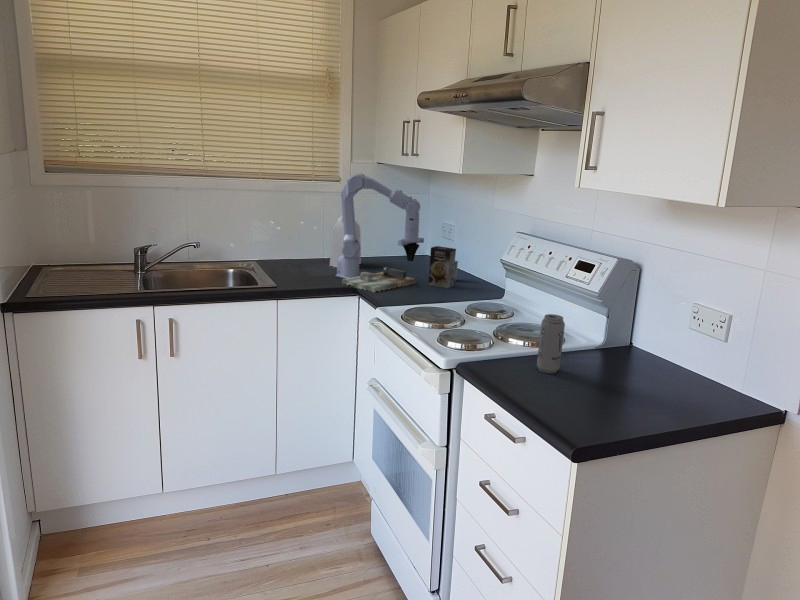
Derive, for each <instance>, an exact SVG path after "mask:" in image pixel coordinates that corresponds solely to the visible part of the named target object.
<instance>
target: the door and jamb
mask: <svg viewBox="0 0 800 600" xmlns="http://www.w3.org/2000/svg"><path fill="white" fill-rule="evenodd" d="M341 279H342V282H341V284H342V285H344V284H346V285H345V286H348V285H351V286H354V287H353V288H355V289H358V290H362V289H364V291H366V290H368V291H367V292H370V291H371V292H370V293H377V292H376V291H378V292H382V291H381V290H383V291H386V289H388V290H391V288H392V289H396V287H397V288H401V286H402V287H406V286H410V284H411V285H414V284H416V281H417V280H416V278H414V277H410V276H409V277H408V276H406V278H405V279H402V278H397V277H393V276H389V275H384V274H383V271H381V272H374V273H372V272H369V271H364V272H363V271H362V272H360V276H358V277H352V278H347V279H345V278H341ZM351 286H350V287H351Z"/></svg>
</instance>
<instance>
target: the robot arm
mask: <svg viewBox="0 0 800 600" xmlns="http://www.w3.org/2000/svg"><path fill="white" fill-rule="evenodd" d="M363 189H364V190H369V189H370V190H373V191H375V192H377V193H380V194H381V195H383V196H385V197H387V198H388V199H389V202H390V203H391V204H393V205H394V206H397V207H398V208H400V209H401V210H405V212H406V213H405V214H406V215H405V222H404V223H405V226H404V238H403V239H400V240H399V239H398V241H397V245H398V246H399V247H400V246H402V247H403V250H404V251H405V254H406V259H407V261H408V262H414V258H415V256H416V253H417V251H418V249H419V248H420V243H421V244H423V243H424V242H425V238H424V237H419V232H420V231H419V230H420V212H419V211H420V210H421V203H420V202H419V200H418V199H416V198H413V197H412V196H408V195H407V194H404V193H403V190H397V189H395V190H392V189H391V188H388V187H387V186H385V185H383V184H382V183H380V182H379V181H378V180H376V179H375V178H372V177H370V176H367V175H365V174H363V173H357V174H353V175H351V176H349V178H348V179H346V182H345V184H344V186H343V188H342V190H341V192H340V199H341V212H342V216H343V224H344V240H343V247H342V253H343V256H340V257H339V259H338V261H337V267H336V274H335V277H338V278H341V279H347V278H352V277H358V276H361V274H360V265H359V257H360V256H359V255H358V253H359V251H360V249H362V248H361V246H360V244H359V242H358V237H357V235H356V226H355V221H356V217H355V216H356V215H355V205H354V202H355V201H354V197H355V196H356V195H357V193H359V192H360V191H361V190H363Z"/></svg>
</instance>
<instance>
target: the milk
mask: <svg viewBox="0 0 800 600" xmlns="http://www.w3.org/2000/svg"><path fill="white" fill-rule="evenodd" d="M355 226H356V235H357V237H358V242H359V244H360V246H361V225H360V223H359V222H357V221H356V220H355ZM343 240H344V224H343V215H342V216H340V217H339V218H337V220H336V223H334V224H333V225H332V228H331V239H330V241H331V242H330V256H329V267H330V266H333V267H332V268H337V261H338V259H339V257H340V256H343V253H342V247H343ZM361 249H362V248H361ZM361 249H360V251H359V253H358V255H359V256H360V257H359V264H361V265H362V256H361V255H362V254H361V253H362V252H361V251H362V250H361Z"/></svg>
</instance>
